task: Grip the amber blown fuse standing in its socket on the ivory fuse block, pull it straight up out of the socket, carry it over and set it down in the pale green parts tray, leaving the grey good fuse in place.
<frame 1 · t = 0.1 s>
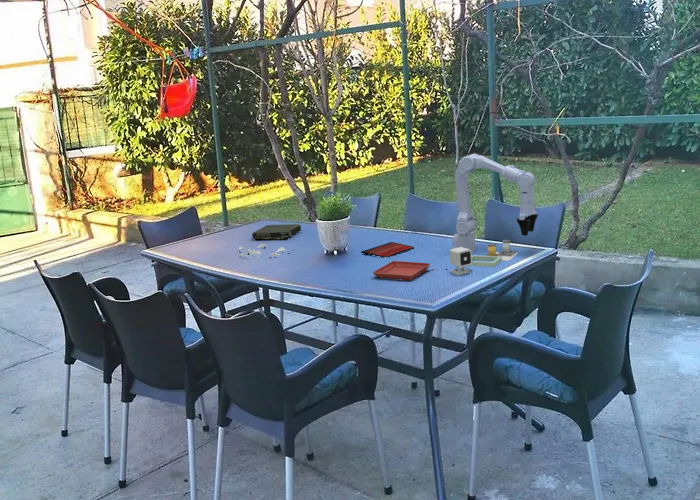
hand: (527, 233, 294), 10 cm above the table, tool pointing down, fingers open, 7 cm apart
amber fuse: (492, 257, 295), point 1 cm above the table, touching fuse block
parts tray: (483, 266, 288), on the table
security camera: (461, 273, 280), on the table
network switch: (277, 237, 385), on the table
grey fuse: (506, 254, 298), point 1 cm above the table, touching fuse block
binder: (388, 253, 328), on the table
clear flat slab: (264, 254, 348), on the table
plant saucer: (402, 275, 286), on the table
fuse block: (499, 258, 297), on the table
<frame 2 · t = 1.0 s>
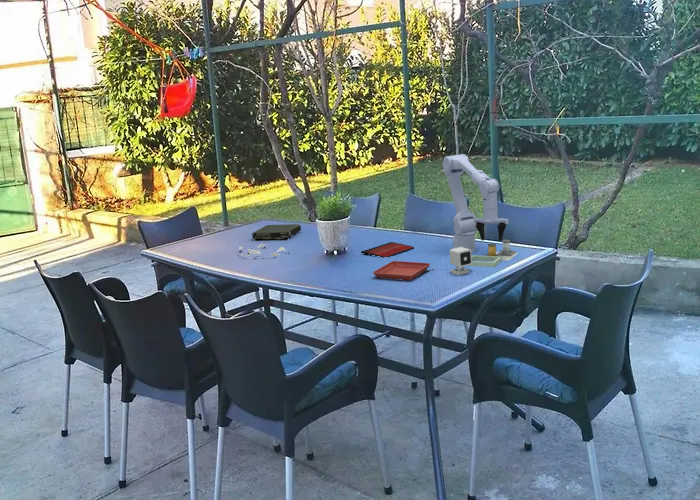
hand: (491, 240, 293), 9 cm above the table, tool pointing down, fingers open, 7 cm apart
nothing on the table moved.
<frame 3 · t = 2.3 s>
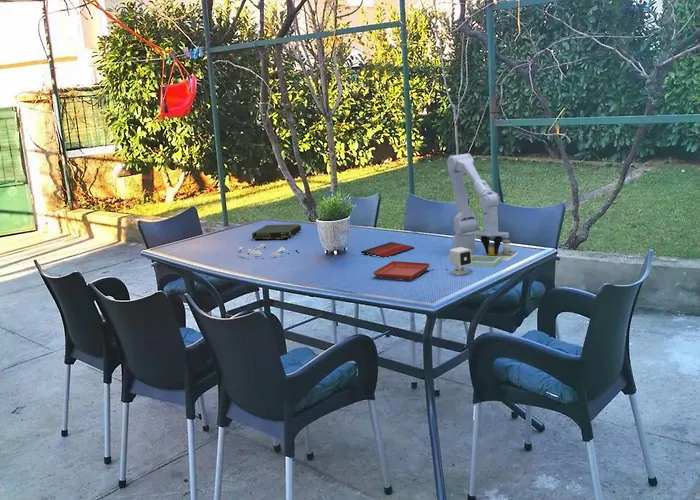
hand: (492, 253, 294), 3 cm above the table, tool pointing down, fingers closed on amber fuse, 3 cm apart
amber fuse: (492, 257, 295), point 1 cm above the table, touching fuse block, gripper
everything else where it was.
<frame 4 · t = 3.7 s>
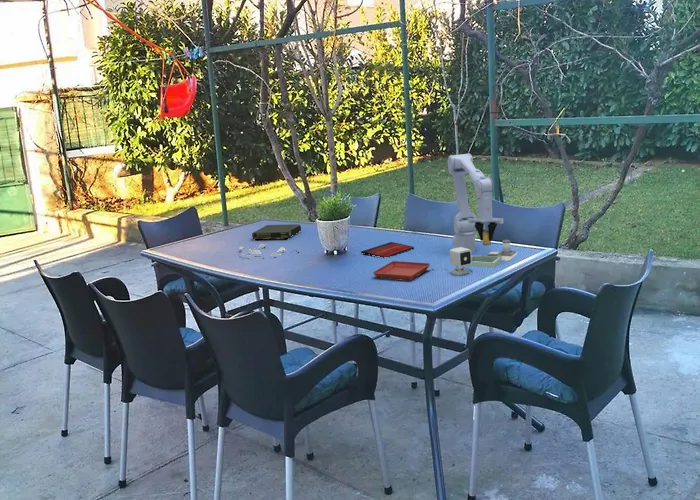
hand: (486, 240, 289), 10 cm above the table, tool pointing down, fingers closed on amber fuse, 3 cm apart
amber fuse: (486, 244, 289), point 8 cm above the table, touching gripper
everything else where it was.
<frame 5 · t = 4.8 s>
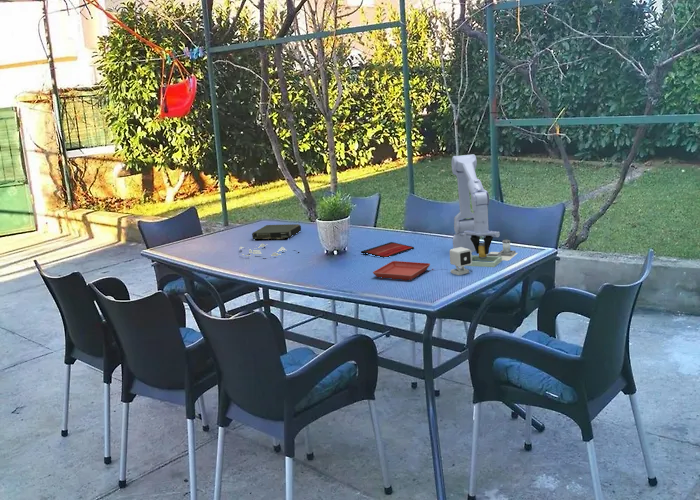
hand: (482, 253, 287), 5 cm above the table, tool pointing down, fingers closed on amber fuse, 3 cm apart
amber fuse: (482, 257, 287), point 4 cm above the table, touching gripper
everything else where it was.
when the fingers open (3 cm above the table, at t = 5.5 s): amber fuse stays where it is, resting on parts tray.
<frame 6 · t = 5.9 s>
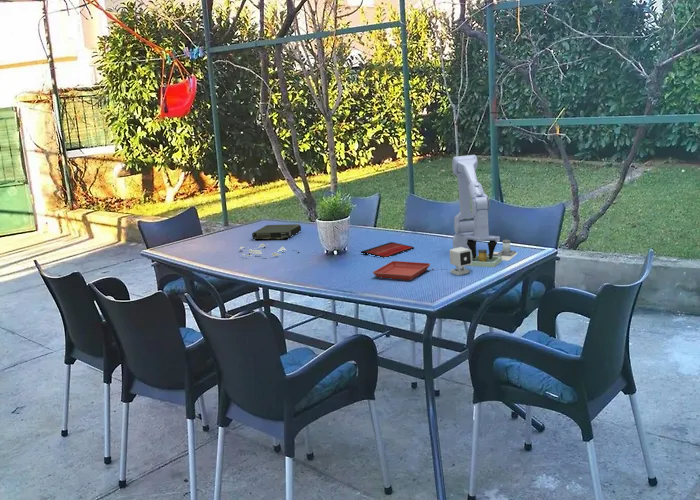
hand: (482, 258, 287), 3 cm above the table, tool pointing down, fingers open, 6 cm apart
amber fuse: (483, 264, 288), point 1 cm above the table, touching parts tray
everything else where it was.
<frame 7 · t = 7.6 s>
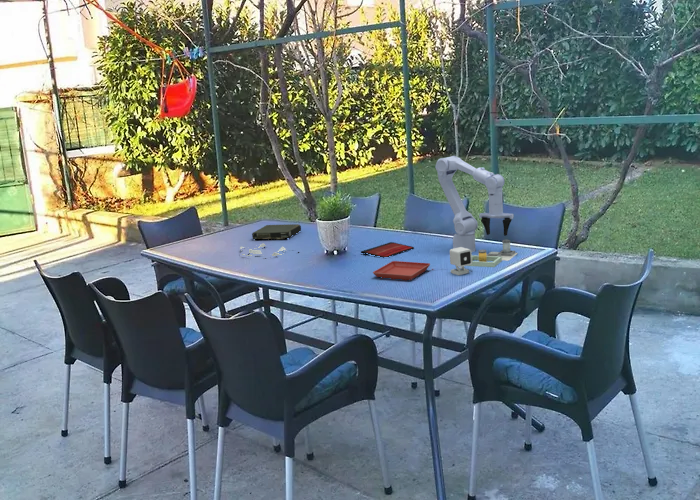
hand: (496, 234, 297), 10 cm above the table, tool pointing down, fingers open, 7 cm apart
nothing on the table moved.
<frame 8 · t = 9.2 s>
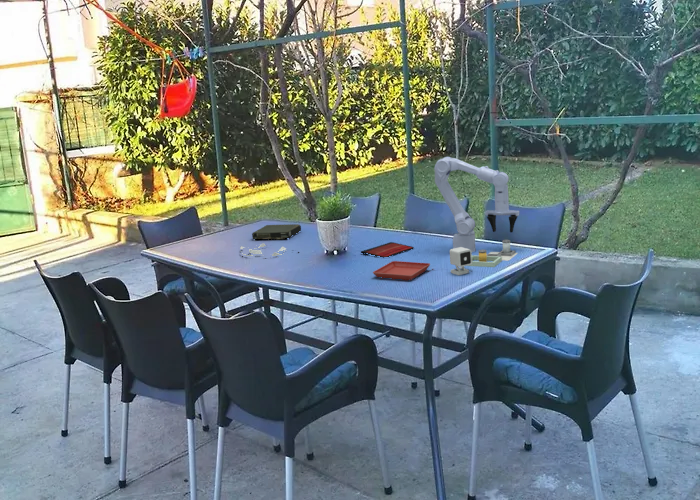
hand: (502, 231, 302), 10 cm above the table, tool pointing down, fingers open, 7 cm apart
nothing on the table moved.
at the end: amber fuse inside the target area on the parts tray (0.0 cm from its centre), point 0.6 cm above the parts tray's base; the gripper is holding nothing; grey fuse moved 0.0 cm from its start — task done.
